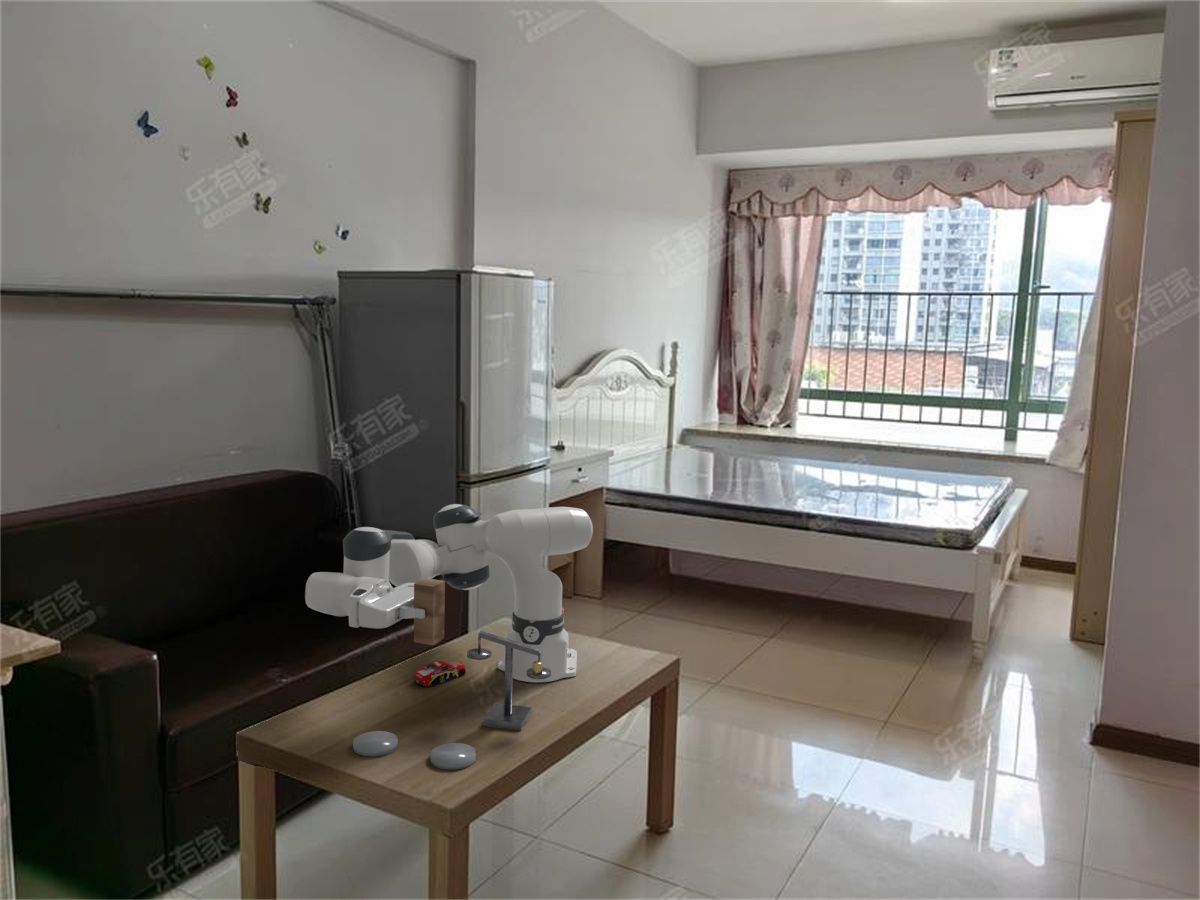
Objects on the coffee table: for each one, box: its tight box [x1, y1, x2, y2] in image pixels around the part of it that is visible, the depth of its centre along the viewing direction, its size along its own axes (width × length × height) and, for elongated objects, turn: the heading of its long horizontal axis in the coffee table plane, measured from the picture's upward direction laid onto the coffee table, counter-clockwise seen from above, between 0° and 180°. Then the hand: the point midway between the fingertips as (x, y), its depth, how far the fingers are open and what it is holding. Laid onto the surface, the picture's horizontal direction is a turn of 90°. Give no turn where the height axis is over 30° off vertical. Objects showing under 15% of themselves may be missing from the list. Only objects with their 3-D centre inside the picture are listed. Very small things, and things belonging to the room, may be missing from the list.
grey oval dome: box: [352, 730, 399, 758], centre depth 180 cm, size 8×8×1 cm
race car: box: [413, 660, 467, 687], centre depth 214 cm, size 13×5×4 cm, turn 138°
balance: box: [466, 630, 551, 731], centre depth 192 cm, size 8×18×18 cm, turn 79°
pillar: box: [413, 578, 446, 646], centre depth 187 cm, size 4×4×12 cm
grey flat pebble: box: [429, 742, 477, 771], centre depth 176 cm, size 8×8×1 cm
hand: (433, 609), depth 187 cm, fingers closed on pillar, 4 cm apart
